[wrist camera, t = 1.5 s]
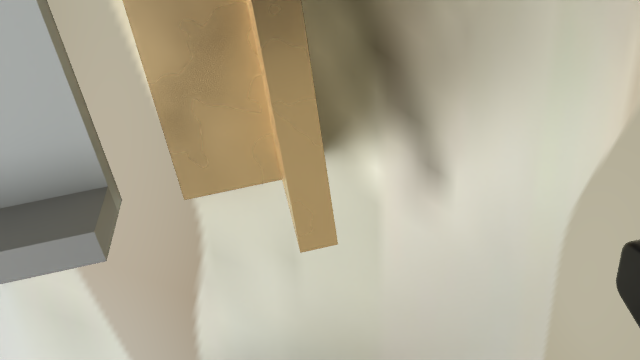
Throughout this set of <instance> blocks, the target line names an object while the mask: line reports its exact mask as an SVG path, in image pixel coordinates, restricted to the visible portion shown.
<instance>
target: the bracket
mask: <svg viewBox="0 0 640 360" xmlns="http://www.w3.org/2000/svg"><path fill="white" fill-rule="evenodd" d="M123 3H124V7H125V10H126V13H127V16H128V19H129V23H130V26H131V29H132V32H133V36H134V39H135V42H136V45H137V49H138V52H139V55H140V58H141V61H142V65H143V68H144V71H145V74H146V78H147V81H148V84H149V87H150V91H151V94H152V97H153V100H154V103H155V107H156V110H157V113H158V116H159V120H160V123H161V126H162V129H163V133H164V136H165V139H166V142H167V146H168V149H169V152H170V155H171V158H172V162H173V165H174V168H175V171H176V174H177V177H178V181H179V184H180V188H181V191H182V194H183V197H184V200H187V199H192V198H196V197H201V196H206V195H211V194H215V193H220V192H225V191H230V190H234V189H239V188H244V187H249V186H253V185H258V184H263V183H268V182H272V181H277V180H282V181H283V185H284V189H285V193H286V197H287V201H288V205H289V209H290V213H291V217H292V221H293V225H294V229H295V233H296V237H297V241H298V245H299V249H300V253H301V252H306V251H310V250H315V249H319V248H324V247H328V246H333V245H337V244H338V242H337V235H336V229H335V222H334V215H333V209H332V202H331V195H330V189H329V182H328V175H327V169H326V162H325V155H324V149H323V142H322V135H321V129H320V122H319V115H318V109H317V102H316V95H315V89H314V82H313V75H312V69H311V62H310V55H309V49H308V42H307V35H306V29H305V22H304V16H303V9H302V2H301V0H123Z"/></svg>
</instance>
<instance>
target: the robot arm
mask: <svg viewBox="0 0 640 360" xmlns="http://www.w3.org/2000/svg"><path fill="white" fill-rule="evenodd" d="M616 283H617V289H618V292H619V294H620V296H621V298H622V299H623V301H624V303H625V304H626V306H627V308H628V309H629V311H630V313H631V314H632V316H633V318H634V319H635V321H636V323H637V324H638V326H639V328H640V240H636V241H631V242H628V243H626V244H625V245H624V247H623V249H622V252H621V258H620V263H619V268H618V273H617V278H616Z"/></svg>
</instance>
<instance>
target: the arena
mask: <svg viewBox="0 0 640 360" xmlns="http://www.w3.org/2000/svg"><path fill="white" fill-rule="evenodd" d="M121 201H122V199H121V196H120V193H119V191H118V188H117V185H116V183H115V180H114V178H113V175H112V172H111V169H110V167H109V164H108V161H107V159H106V156H105V153H104V151H103V148H102V146H101V143H100V140H99V138H98V135H97V132H96V130H95V127H94V125H93V122H92V119H91V117H90V114H89V111H88V109H87V106H86V103H85V100H84V98H83V95H82V93H81V90H80V87H79V85H78V82H77V79H76V77H75V74H74V71H73V69H72V66H71V64H70V61H69V58H68V56H67V53H66V50H65V48H64V45H63V42H62V40H61V37H60V34H59V32H58V29H57V26H56V24H55V21H54V18H53V16H52V13H51V11H50V8H49V5H48V2H47V0H0V284H4V283H8V282H13V281H17V280H22V279H27V278H31V277H36V276H40V275H45V274H50V273H54V272H59V271H63V270H68V269H73V268H77V267H81V266H86V265H91V264H95V263H100V262H105V261H107V256H108V253H109V249H110V245H111V241H112V237H113V233H114V229H115V225H116V221H117V217H118V213H119V209H120V205H121Z"/></svg>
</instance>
